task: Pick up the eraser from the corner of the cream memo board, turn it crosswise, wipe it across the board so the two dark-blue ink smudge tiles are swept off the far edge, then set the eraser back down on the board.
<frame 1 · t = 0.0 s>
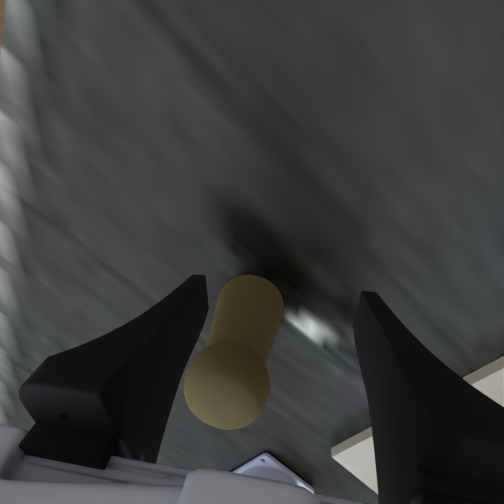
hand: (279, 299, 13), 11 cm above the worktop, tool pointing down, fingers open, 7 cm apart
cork: (251, 303, 26), on the worktop
memo board: (456, 446, 29), on the worktop
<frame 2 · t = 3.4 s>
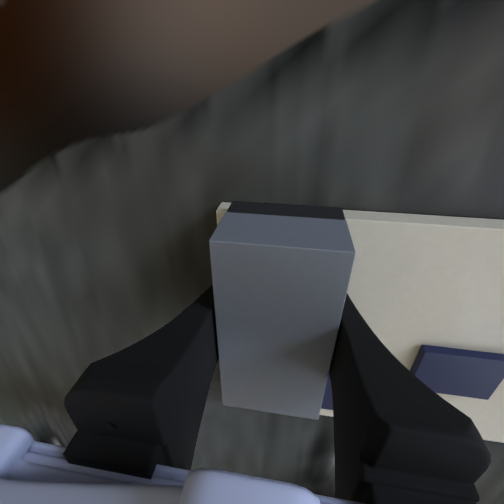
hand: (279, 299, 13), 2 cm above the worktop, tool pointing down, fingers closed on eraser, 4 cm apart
eraser: (280, 290, 14), point 1 cm above the worktop, touching gripper, memo board
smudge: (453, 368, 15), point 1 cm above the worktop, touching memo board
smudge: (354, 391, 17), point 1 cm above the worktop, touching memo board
memo board: (408, 335, 16), on the worktop
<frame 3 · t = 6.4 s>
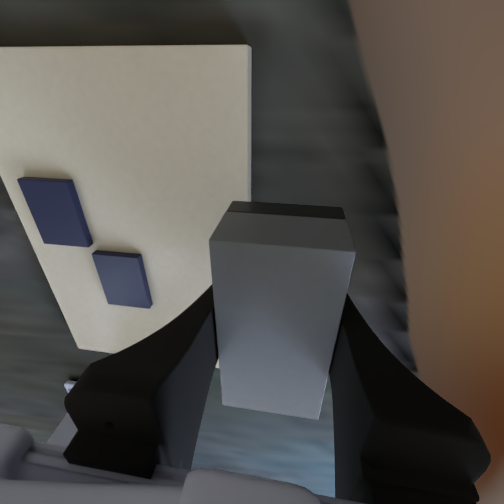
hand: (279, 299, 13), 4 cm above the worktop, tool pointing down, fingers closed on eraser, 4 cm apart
eraser: (279, 290, 14), point 3 cm above the worktop, touching gripper
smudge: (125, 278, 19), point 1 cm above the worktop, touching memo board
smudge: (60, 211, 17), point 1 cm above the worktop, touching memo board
memo board: (141, 242, 18), on the worktop
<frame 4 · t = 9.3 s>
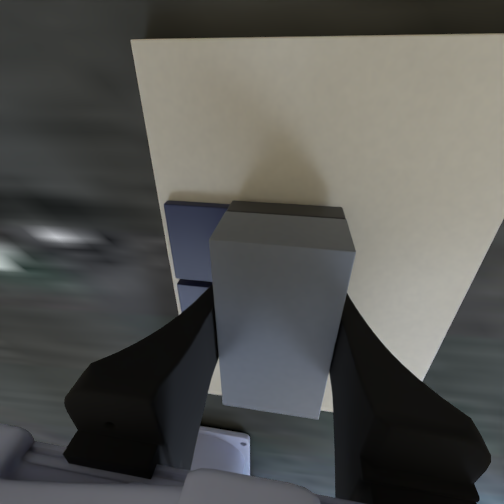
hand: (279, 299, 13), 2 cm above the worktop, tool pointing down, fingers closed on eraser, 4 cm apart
eraser: (280, 289, 14), point 1 cm above the worktop, touching gripper, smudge
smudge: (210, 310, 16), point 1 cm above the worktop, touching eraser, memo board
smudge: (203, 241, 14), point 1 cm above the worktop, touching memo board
memo board: (307, 277, 15), on the worktop
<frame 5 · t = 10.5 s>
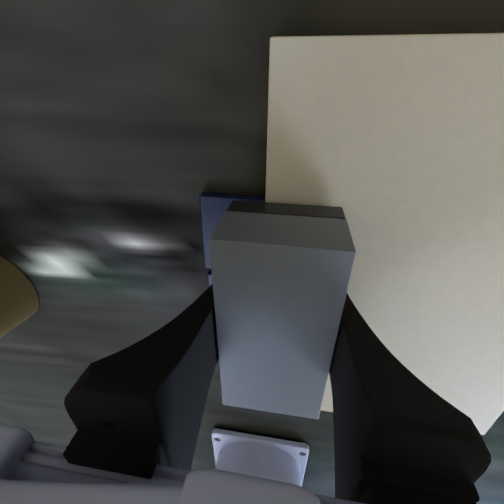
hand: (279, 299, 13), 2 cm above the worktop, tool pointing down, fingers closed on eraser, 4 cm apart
eraser: (280, 289, 14), point 1 cm above the worktop, touching gripper
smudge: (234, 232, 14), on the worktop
memo board: (404, 286, 14), on the worktop
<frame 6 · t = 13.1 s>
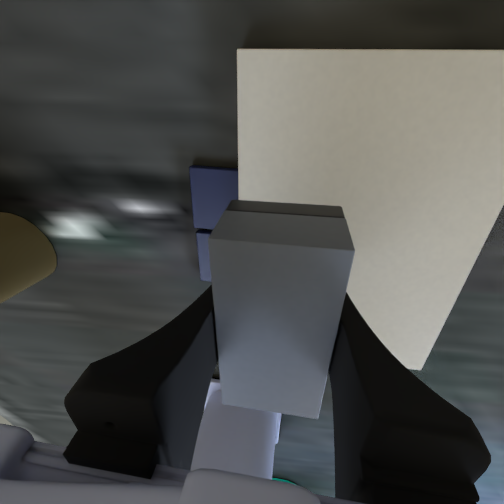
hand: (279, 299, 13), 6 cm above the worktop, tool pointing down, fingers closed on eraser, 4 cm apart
eraser: (279, 289, 14), point 6 cm above the worktop, touching gripper
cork: (22, 245, 23), on the worktop
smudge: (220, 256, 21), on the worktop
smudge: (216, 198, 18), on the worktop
memo board: (349, 241, 18), on the worktop
when the fingers open (2 cm above the worktop, at t = 15.2 s): eraser stays where it is, resting on memo board.
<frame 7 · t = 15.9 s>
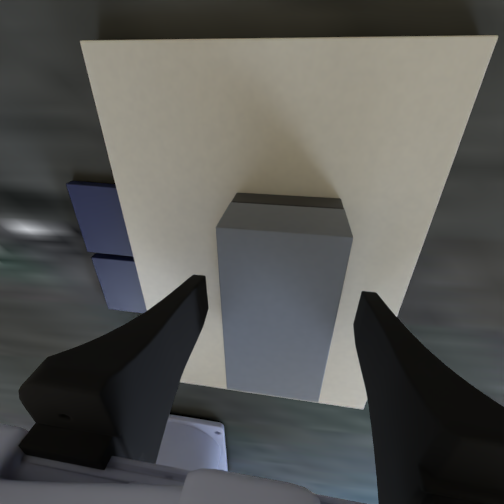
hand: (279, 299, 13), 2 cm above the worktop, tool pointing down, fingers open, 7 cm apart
eraser: (281, 279, 15), point 1 cm above the worktop, touching memo board
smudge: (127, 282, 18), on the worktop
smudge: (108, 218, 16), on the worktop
memo board: (264, 267, 16), on the worktop
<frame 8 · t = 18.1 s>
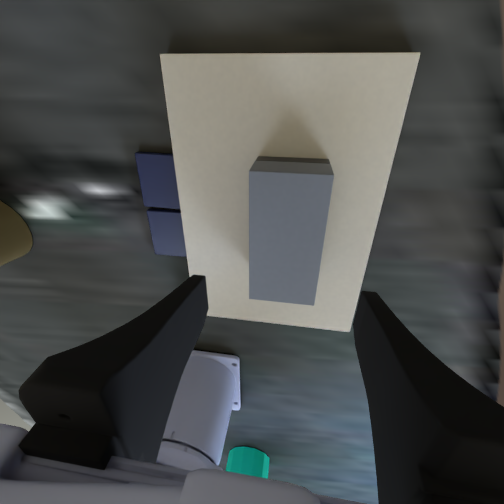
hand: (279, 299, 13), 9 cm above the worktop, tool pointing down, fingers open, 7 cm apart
eraser: (288, 221, 21), point 1 cm above the worktop, touching memo board
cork: (2, 227, 26), on the worktop
candle: (249, 455, 42), on the worktop
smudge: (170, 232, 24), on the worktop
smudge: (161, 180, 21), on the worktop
memo board: (275, 216, 22), on the worktop
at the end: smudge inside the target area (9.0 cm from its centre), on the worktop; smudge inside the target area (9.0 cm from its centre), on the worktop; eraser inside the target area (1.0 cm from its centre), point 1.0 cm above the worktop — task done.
